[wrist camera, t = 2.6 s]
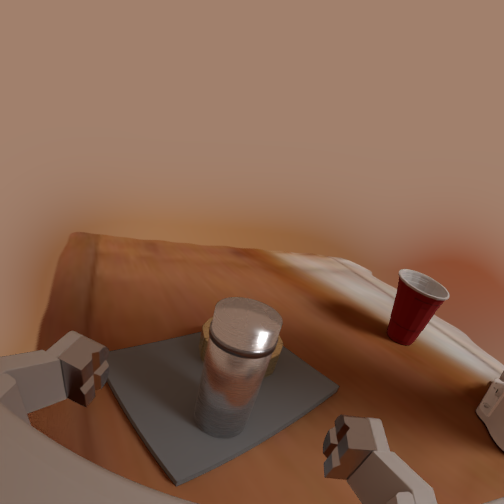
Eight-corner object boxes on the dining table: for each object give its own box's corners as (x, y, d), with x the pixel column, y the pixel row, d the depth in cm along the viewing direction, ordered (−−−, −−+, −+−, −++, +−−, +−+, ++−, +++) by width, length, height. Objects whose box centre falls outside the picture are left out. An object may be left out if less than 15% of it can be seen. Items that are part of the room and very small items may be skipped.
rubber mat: (246, 325, 45) (248, 319, 45) (336, 391, 34) (339, 386, 34) (96, 360, 29) (95, 353, 29) (176, 486, 18) (176, 481, 18)
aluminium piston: (224, 393, 29) (251, 292, 25) (258, 425, 26) (297, 324, 22) (181, 409, 25) (199, 302, 22) (215, 447, 22) (246, 342, 18)
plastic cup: (387, 351, 46) (416, 287, 42) (367, 320, 56) (390, 264, 52) (432, 356, 46) (461, 298, 43) (410, 327, 57) (432, 275, 53)
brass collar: (241, 327, 42) (246, 309, 42) (290, 365, 36) (298, 346, 35) (184, 341, 36) (187, 321, 35) (233, 391, 30) (239, 371, 29)
